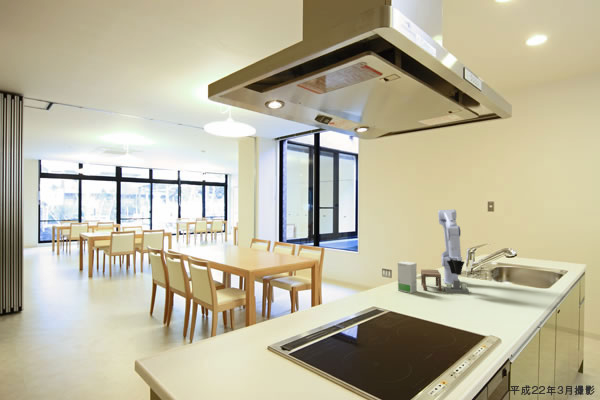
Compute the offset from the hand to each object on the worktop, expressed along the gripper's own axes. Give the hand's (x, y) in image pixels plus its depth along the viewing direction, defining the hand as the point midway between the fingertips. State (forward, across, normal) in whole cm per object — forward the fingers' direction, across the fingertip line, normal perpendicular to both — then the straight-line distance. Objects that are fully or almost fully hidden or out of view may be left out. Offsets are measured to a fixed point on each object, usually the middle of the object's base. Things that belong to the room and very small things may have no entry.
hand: (456, 274), depth 170 cm
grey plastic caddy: (+10, -2, 0) cm, 10 cm away
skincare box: (+10, -3, -25) cm, 27 cm away
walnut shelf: (+8, -9, -11) cm, 17 cm away
